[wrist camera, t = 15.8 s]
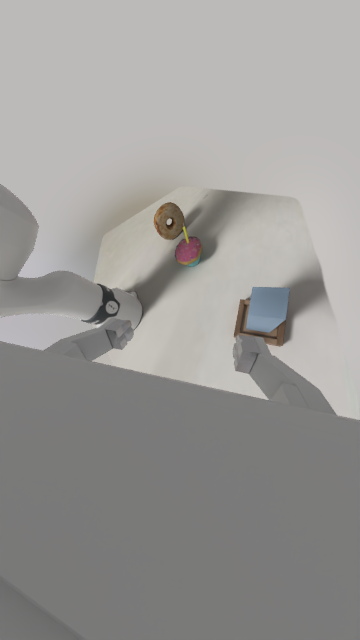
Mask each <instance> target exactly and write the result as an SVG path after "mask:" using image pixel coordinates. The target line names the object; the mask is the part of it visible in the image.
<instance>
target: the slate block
mask: <svg viewBox="0 0 360 640" xmlns="http://www.w3.org/2000/svg"><path fill="white" fill-rule="evenodd" d="M289 290H290V288H272V287H253V288H252V294H251V300H250V306H249V312H248V318H247V325H246V329H248V330H255V331H261V332H267V333H270V332H271V331H272V330H273V329H275V328H276V327H277V326H278V325H279V324H281V323H282V322H283V321H284V320H286V315H287V306H288V298H289Z"/></svg>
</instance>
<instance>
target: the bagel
mask: <svg viewBox="0 0 360 640" xmlns="http://www.w3.org/2000/svg"><path fill="white" fill-rule="evenodd" d="M169 218H171V219H172V223H171V224H170V225H167V224H166V221H167V220H168V219H169ZM183 223H184V216H183V213H182V211H181V210H180V208H179V207H178V206H177V205H176V204H174V203H171V202H170V203H165V204H163V205H162V206H160V208H159V209H158V210H157V212H156V214H155V217H154V224H155V228H156V230H157V232H158V233H159V235H160V236H161V237H163V238H164V239H167V240H171V239H174V238H175V237H177V236H178V235H179V234H180V233H181V231H182V230H183V227H184V226H183Z"/></svg>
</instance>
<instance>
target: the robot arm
mask: <svg viewBox="0 0 360 640" xmlns="http://www.w3.org/2000/svg"><path fill="white" fill-rule="evenodd" d="M38 228H39V226H38V223H37V221H36V219H35V218H34V216H33V215H32V213H31V212H30V210H29V209H28V208H27V207H26V206H25V205H24V204H23V202H22V201H21V200H19V198H18V197H16V196H15V195H14V194H13V193H12V192H10V191H9V190H8V189H7V188H5V187H4V186H2V185H1V184H0V317H5V316H12V315H20V314H36V313H38V314H53V315H59V316H65V317H71V318H76V319H81V320H82V321H83V322H86V323H90V324H96V325H97V326H96V328H95V329H92V330H88V331H85V332H82V333H80V334H76V335H74V336H70V337H68V338H64V339H61V340H59V341H58V342H56V343H55V344H53V345H52V346H50V347H48V348H47V349H45V350H44V351H42V350H37V349H32V348H28V347H24V346H19V345H15V344H10V343H6V342H2V341H0V640H360V420H356V419H351V418H347V417H342V416H338V415H336V413H335V412H334V410H333V409H332V407H331V406H330V404H329V403H328V401H327V400H326V399H325V397H324V396H323V394H322V393H321V391H320V390H319V389H318V388H317V387H315V386H314V385H313V384H311V383H310V382H309V381H307V380H306V379H305V378H303V377H302V376H301V375H299V374H298V373H297V372H295V371H294V370H293V369H291V368H290V367H289V366H287V365H286V364H285V363H283V362H282V361H281V360H279V359H278V358H277V357H275V356H272V355H271V353H270V351H269V349H268V347H267V345H266V343H265V341H264V339H263V338H262V337H252V336H244V335H237V337H236V343H235V344H234V347H233V358H234V359H235V361H234V365H235V371H239V372H243V373H248V374H249V375H250V376H251V377H252V379H253V380H254V381H255V382H256V384H257V385H258V386H259V387H260V389H261V390H262V391H263V393H264V394H265V395H266V396H267V398H268V399H269V400H270V401H269V400H265V399H260V398H256V397H251V396H247V395H242V394H238V393H233V392H228V391H224V390H219V389H215V388H210V387H206V386H201V385H197V384H192V383H188V382H183V381H179V380H174V379H169V378H165V377H160V376H156V375H151V374H147V373H142V372H138V371H133V370H129V369H124V368H119V367H115V366H110V365H106V364H101V363H97V362H92V360H94V359H96V358H97V357H99V356H101V355H103V354H104V353H106V352H108V351H110V350H111V349H113V348H115V349H121V350H122V349H123V348H124V347H125V346H126V345H127V342H128V341H130V340H131V339H132V338H133V335H134V331H133V330H134V329H135V328H136V327H137V325H138V324H139V322H140V319H141V316H142V305H141V303H140V301H139V300H138V298H137V294H136V293H135V292H128V293H127V292H125V291H123V290H121V289H118V288H115V289H109V288H107V287H106V286H104V285H101V284H95V283H93V282H91V281H89V280H87V279H85V278H83V277H81V276H79V275H77V274H75V273H73V272H69V271H55V272H52V273H49V274H47V275H45V276H43V277H38V278H23V277H18V276H17V275H18V274H19V272H20V271H21V269H22V267H23V266H24V264H25V262H26V261H27V259H28V258H29V256H30V254H31V253H32V251H33V249H34V245H35V242H36V238H37V233H38Z"/></svg>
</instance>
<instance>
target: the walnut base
mask: <svg viewBox="0 0 360 640" xmlns="http://www.w3.org/2000/svg"><path fill="white" fill-rule="evenodd" d="M249 306H250V300H241V299H240V305H239V310H238V316H237V321H236V327H235V332H234V338H236V337H237V335H244V336H252V337H262V338H263V339H264V341H265V343H266V344H270V345H275V346H283V338H284V330H285V322H286V320H284V321H283V322H282V323H281V324H279V325H278V326H277V327H276V328H275V329H273V330H272V331H271V332H270V333H267V332H261V331H255V330H248V329H246V325H247V318H248V312H249Z"/></svg>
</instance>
